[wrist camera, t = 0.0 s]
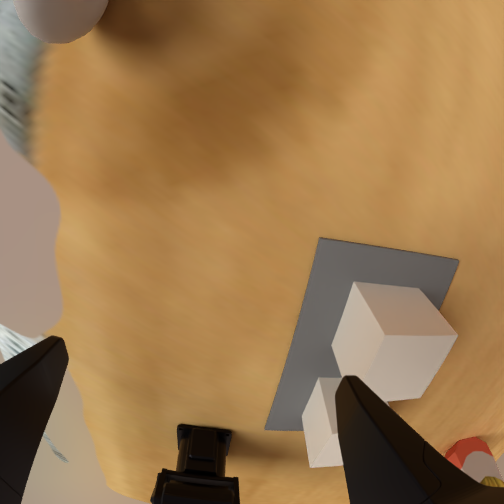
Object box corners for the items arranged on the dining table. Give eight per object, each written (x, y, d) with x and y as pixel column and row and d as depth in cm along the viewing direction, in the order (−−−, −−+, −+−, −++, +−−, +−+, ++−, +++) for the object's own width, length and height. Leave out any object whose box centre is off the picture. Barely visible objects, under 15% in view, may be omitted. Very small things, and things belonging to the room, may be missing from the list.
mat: (370, 425, 33) (371, 427, 33) (264, 428, 32) (264, 430, 32) (457, 259, 24) (459, 260, 24) (319, 237, 23) (320, 238, 22)
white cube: (355, 414, 32) (369, 462, 25) (301, 416, 31) (309, 467, 25) (377, 377, 29) (398, 427, 22) (318, 377, 28) (332, 433, 22)
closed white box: (392, 346, 27) (420, 397, 21) (331, 345, 27) (350, 403, 20) (419, 288, 25) (458, 335, 18) (353, 281, 24) (385, 335, 18)
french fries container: (451, 441, 39) (483, 514, 23) (483, 433, 40) (513, 496, 24) (437, 454, 41) (464, 525, 24) (469, 446, 42) (497, 508, 26)
